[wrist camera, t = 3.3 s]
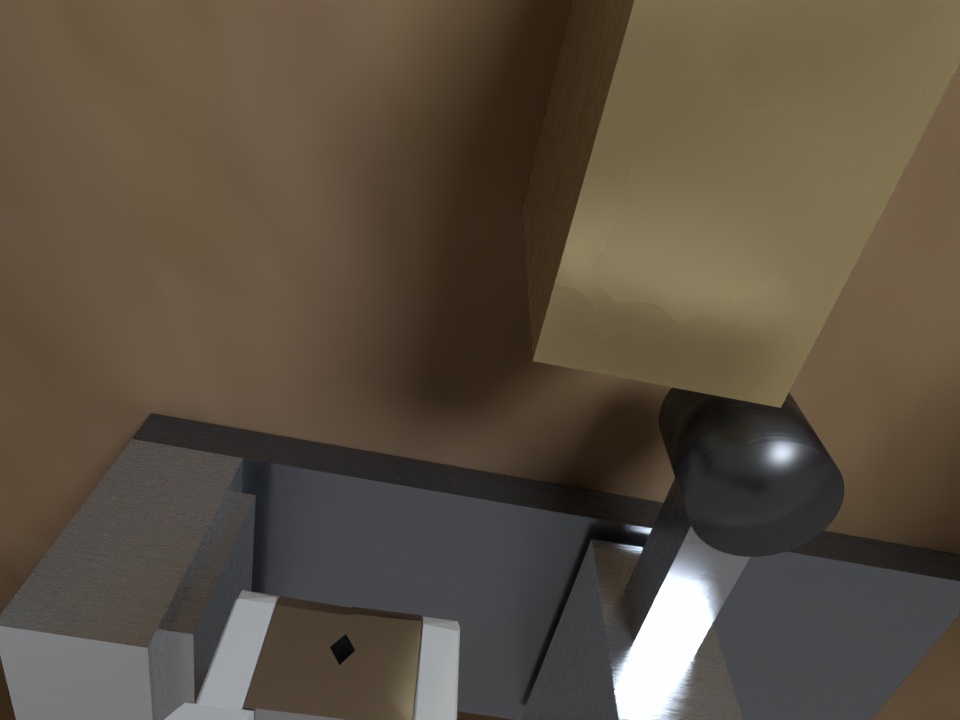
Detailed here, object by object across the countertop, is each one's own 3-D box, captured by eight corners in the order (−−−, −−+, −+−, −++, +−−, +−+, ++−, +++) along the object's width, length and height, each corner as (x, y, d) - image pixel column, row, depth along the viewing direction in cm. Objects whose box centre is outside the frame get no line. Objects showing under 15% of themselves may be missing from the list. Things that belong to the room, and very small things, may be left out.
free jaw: (795, 351, 17) (918, 521, 12) (602, 732, 25) (627, 926, 20) (675, 327, 16) (748, 492, 11) (520, 719, 24) (524, 913, 20)
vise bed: (960, 555, 22) (1141, 796, 16) (819, 735, 27) (912, 970, 21) (150, 413, 20) (-8, 624, 14) (163, 636, 25) (51, 863, 19)
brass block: (831, -157, 13) (1118, -245, 7) (682, 243, 17) (780, 407, 11) (623, -210, 13) (732, -351, 7) (521, 210, 17) (533, 361, 11)
